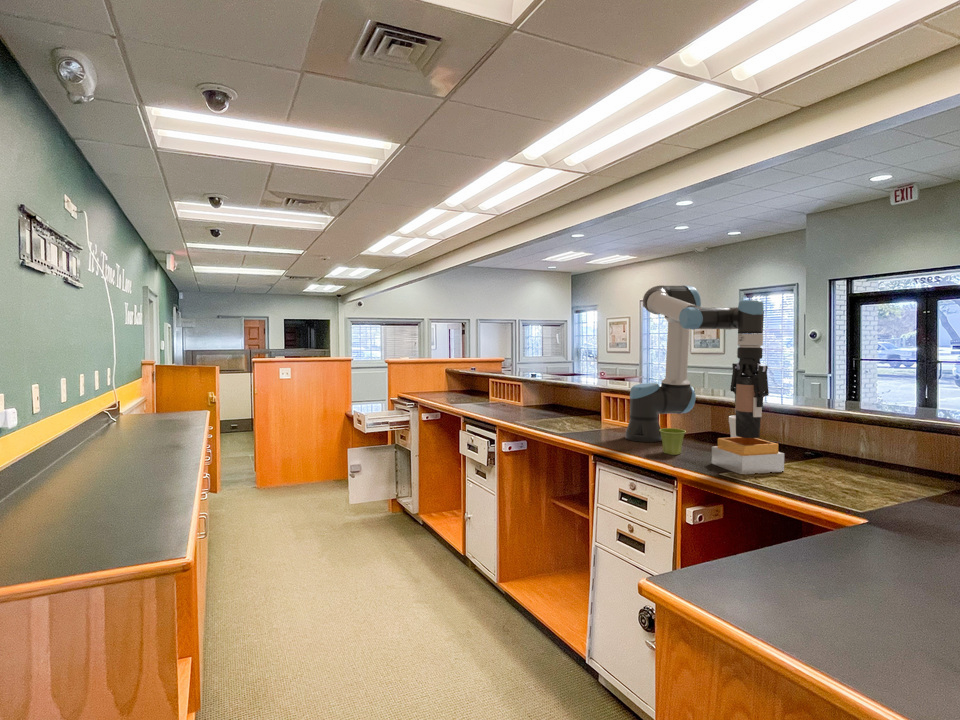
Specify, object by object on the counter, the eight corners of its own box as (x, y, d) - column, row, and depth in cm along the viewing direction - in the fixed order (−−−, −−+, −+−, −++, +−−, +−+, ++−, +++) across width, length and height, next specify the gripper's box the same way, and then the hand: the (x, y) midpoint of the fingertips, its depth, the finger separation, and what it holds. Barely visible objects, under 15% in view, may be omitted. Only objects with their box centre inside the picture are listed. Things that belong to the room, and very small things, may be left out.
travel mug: (763, 438, 179) (765, 377, 178) (738, 437, 180) (739, 377, 179) (756, 434, 186) (758, 376, 185) (732, 433, 188) (733, 375, 187)
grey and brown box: (711, 463, 189) (712, 437, 189) (762, 460, 194) (763, 435, 194) (741, 474, 175) (742, 446, 174) (796, 470, 180) (797, 443, 179)
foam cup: (749, 448, 213) (750, 415, 213) (759, 454, 204) (760, 419, 203) (724, 448, 214) (725, 415, 214) (733, 453, 205) (733, 419, 204)
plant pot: (689, 456, 201) (689, 432, 200) (663, 456, 201) (663, 432, 200) (680, 450, 210) (680, 428, 210) (655, 450, 210) (656, 428, 210)
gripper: (719, 346, 191) (718, 411, 192) (763, 347, 171) (761, 420, 172) (738, 345, 193) (736, 410, 194) (783, 347, 173) (781, 419, 174)
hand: (748, 414), depth 183 cm, fingers closed on travel mug, 8 cm apart
